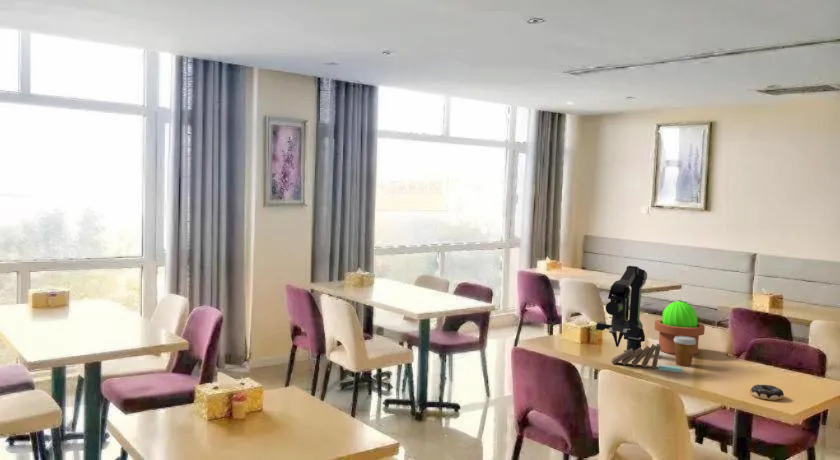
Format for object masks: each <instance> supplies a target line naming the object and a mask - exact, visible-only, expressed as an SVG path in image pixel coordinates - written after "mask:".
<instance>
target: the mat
mask: <svg viewBox="0 0 840 460" xmlns="http://www.w3.org/2000/svg"><path fill="white" fill-rule="evenodd" d="M658 371H661V372H672V373H673V372H674V373H682V368H681V366H673V365H661V364H658Z"/></svg>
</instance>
